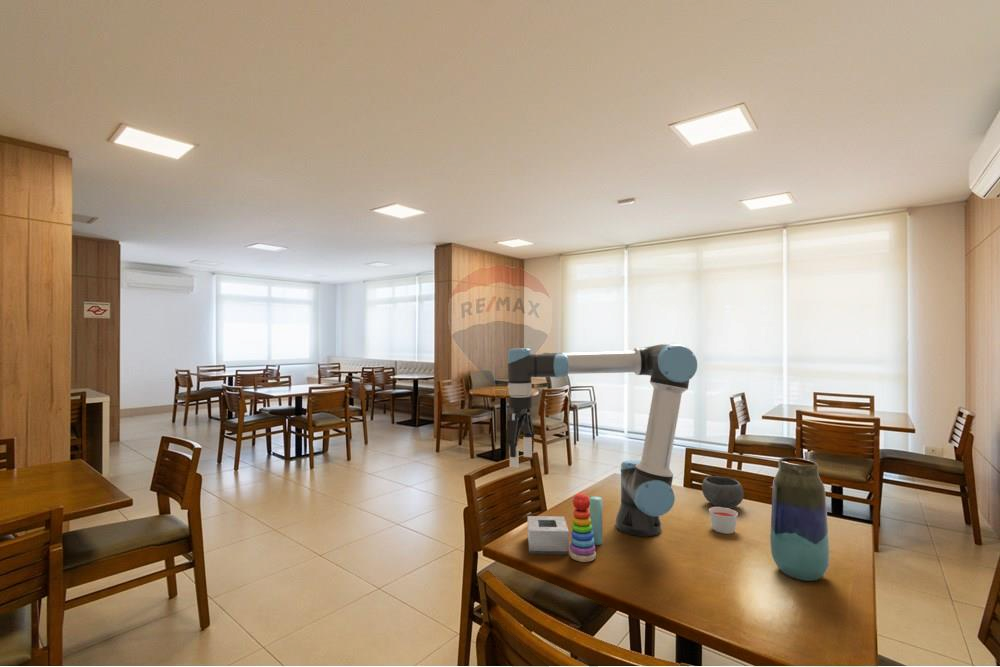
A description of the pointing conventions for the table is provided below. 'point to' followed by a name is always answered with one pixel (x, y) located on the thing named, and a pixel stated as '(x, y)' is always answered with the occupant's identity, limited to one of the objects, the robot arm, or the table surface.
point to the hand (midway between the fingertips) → (521, 461)
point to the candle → (723, 519)
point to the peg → (596, 519)
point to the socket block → (548, 535)
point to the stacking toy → (582, 531)
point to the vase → (799, 520)
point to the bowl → (722, 491)
